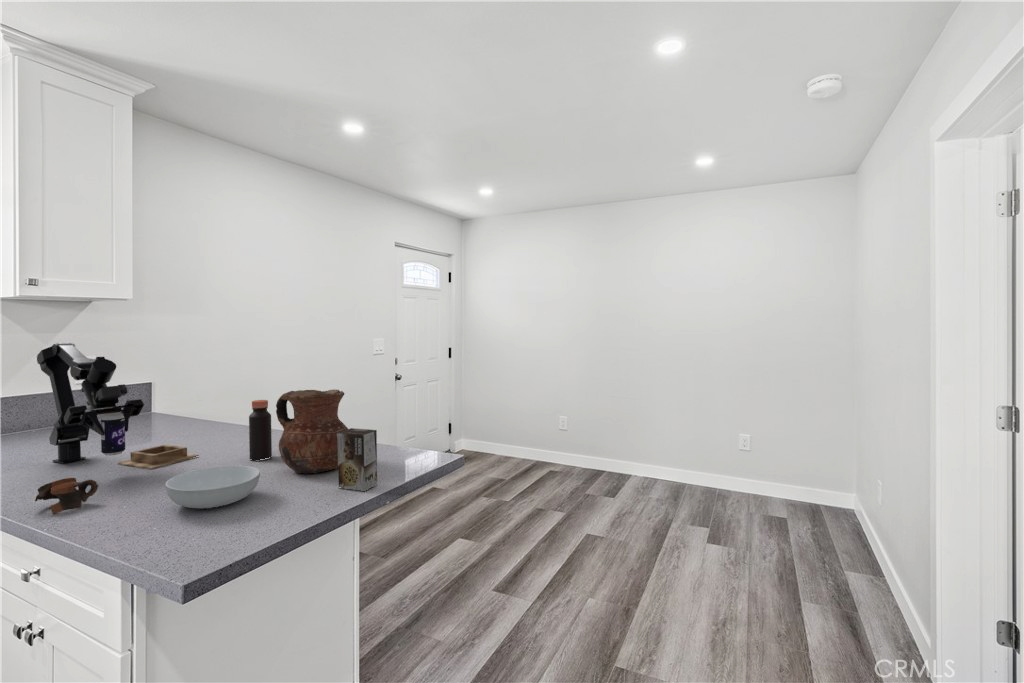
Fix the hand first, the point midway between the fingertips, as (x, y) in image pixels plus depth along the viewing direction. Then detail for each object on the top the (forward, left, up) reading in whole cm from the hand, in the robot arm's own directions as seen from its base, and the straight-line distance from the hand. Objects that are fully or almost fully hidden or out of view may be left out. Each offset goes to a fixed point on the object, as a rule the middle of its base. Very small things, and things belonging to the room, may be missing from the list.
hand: (115, 432), depth 147 cm
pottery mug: (+16, -20, -14) cm, 29 cm away
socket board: (-5, +16, -13) cm, 21 cm away
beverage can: (-1, 0, -7) cm, 7 cm away
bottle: (+25, +30, -13) cm, 41 cm away
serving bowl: (+48, -5, -14) cm, 50 cm away
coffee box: (+75, +18, -13) cm, 78 cm away
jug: (+51, +28, -13) cm, 60 cm away
